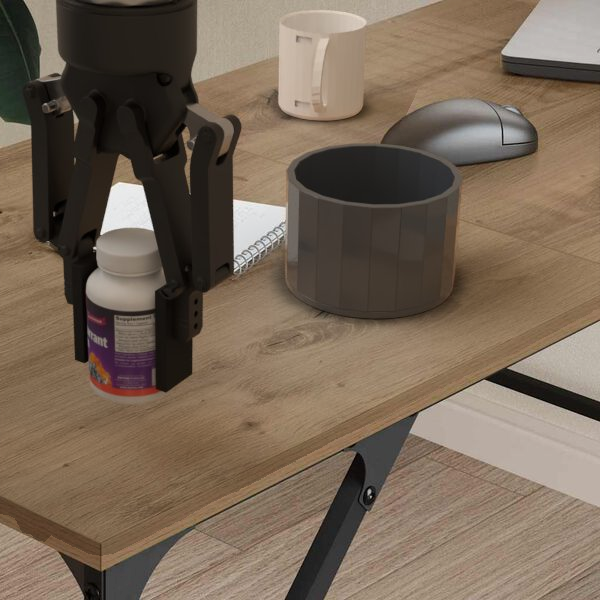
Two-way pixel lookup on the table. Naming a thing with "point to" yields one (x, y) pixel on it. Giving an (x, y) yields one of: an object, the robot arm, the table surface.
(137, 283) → the pill bottle
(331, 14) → the mug
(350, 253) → the canister
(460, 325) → the table surface
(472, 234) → the table surface
